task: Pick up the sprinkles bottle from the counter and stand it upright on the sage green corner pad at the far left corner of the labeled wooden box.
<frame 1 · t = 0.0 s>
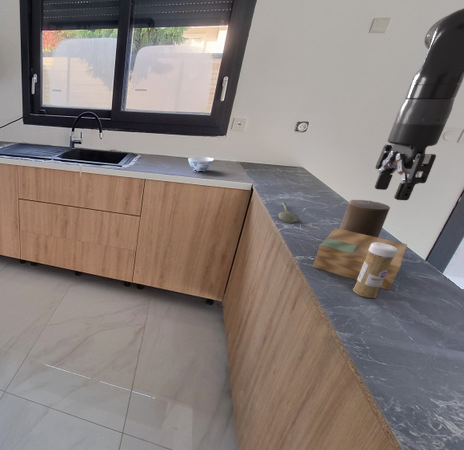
hand: (389, 194, 72), 25 cm above the worktop, tool pointing down, fingers open, 8 cm apart
chinaware: (199, 171, 200), on the worktop
soupspoon: (285, 214, 129), on the worktop
sprinkles bottle: (363, 294, 78), on the worktop
labeled wooden box: (354, 266, 90), on the worktop
pillar candle: (354, 243, 103), on the worktop
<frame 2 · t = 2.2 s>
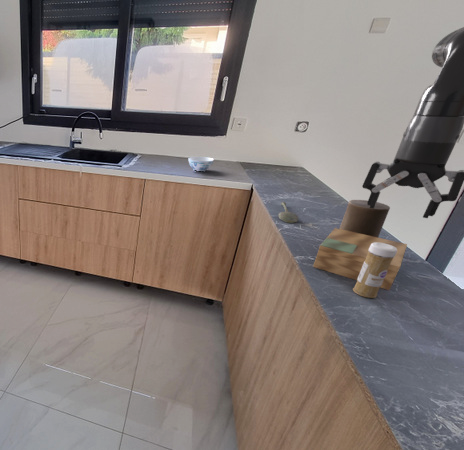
hand: (397, 212, 70), 22 cm above the worktop, tool pointing down, fingers open, 8 cm apart
nothing on the worktop moved.
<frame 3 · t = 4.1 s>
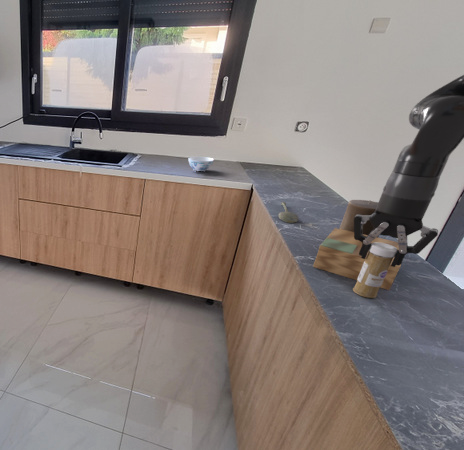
hand: (377, 261, 74), 9 cm above the worktop, tool pointing down, fingers closed on sprinkles bottle, 4 cm apart
sprinkles bottle: (363, 294, 78), on the worktop, touching gripper
everything else where it was.
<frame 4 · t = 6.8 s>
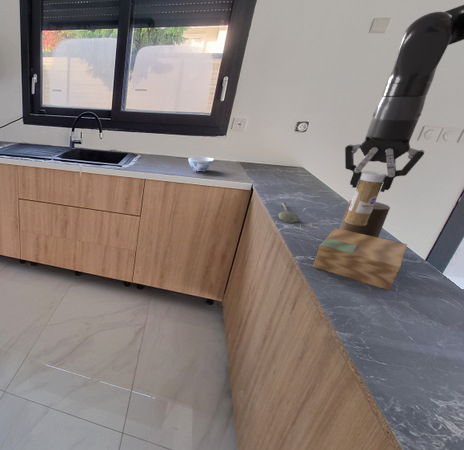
hand: (367, 188, 78), 24 cm above the worktop, tool pointing down, fingers closed on sprinkles bottle, 4 cm apart
sprinkles bottle: (354, 223, 81), point 15 cm above the worktop, touching gripper
everything else where it was.
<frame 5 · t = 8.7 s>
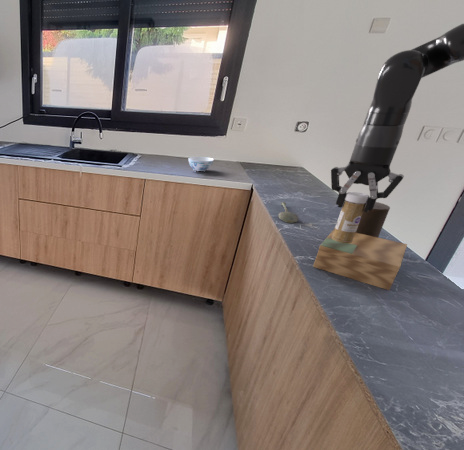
hand: (352, 208, 82), 18 cm above the worktop, tool pointing down, fingers closed on sprinkles bottle, 4 cm apart
sprinkles bottle: (341, 240, 86), point 9 cm above the worktop, touching gripper
everything else where it was.
when the fingers open (17 cm above the worktop, at t = 9.7 s): sprinkles bottle stays where it is, resting on labeled wooden box.
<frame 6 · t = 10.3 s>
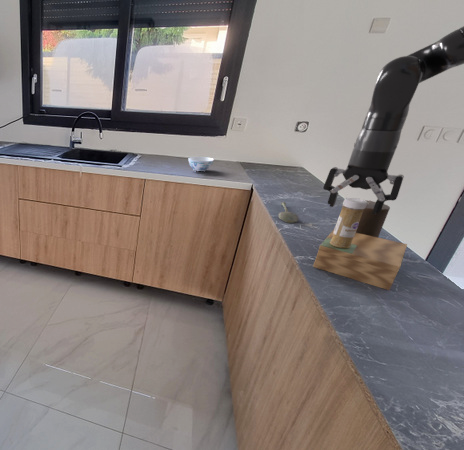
hand: (351, 209, 83), 18 cm above the worktop, tool pointing down, fingers open, 8 cm apart
sprinkles bottle: (339, 245, 87), point 7 cm above the worktop, touching labeled wooden box
everything else where it was.
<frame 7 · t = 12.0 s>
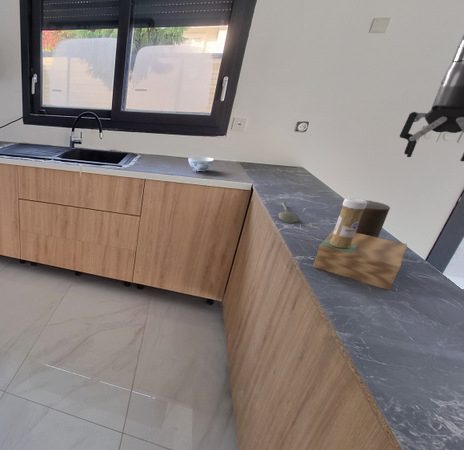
hand: (434, 158, 74), 32 cm above the worktop, tool pointing down, fingers open, 8 cm apart
nothing on the worktop moved.
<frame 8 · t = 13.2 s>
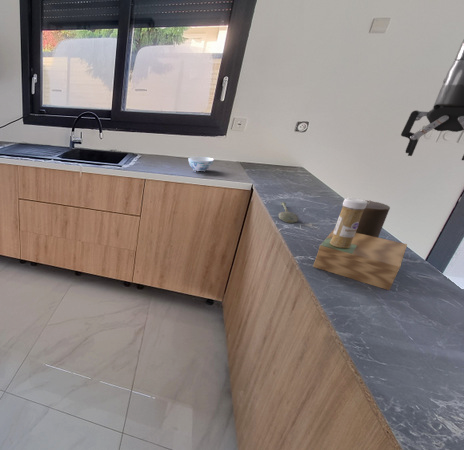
hand: (435, 157, 73), 32 cm above the worktop, tool pointing down, fingers open, 8 cm apart
nothing on the worktop moved.
at the end: sprinkles bottle inside the target area on the labeled wooden box (0.5 cm from its centre), point 7.0 cm above the labeled wooden box's base; sprinkles bottle tilted 0°; the gripper is holding nothing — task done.
